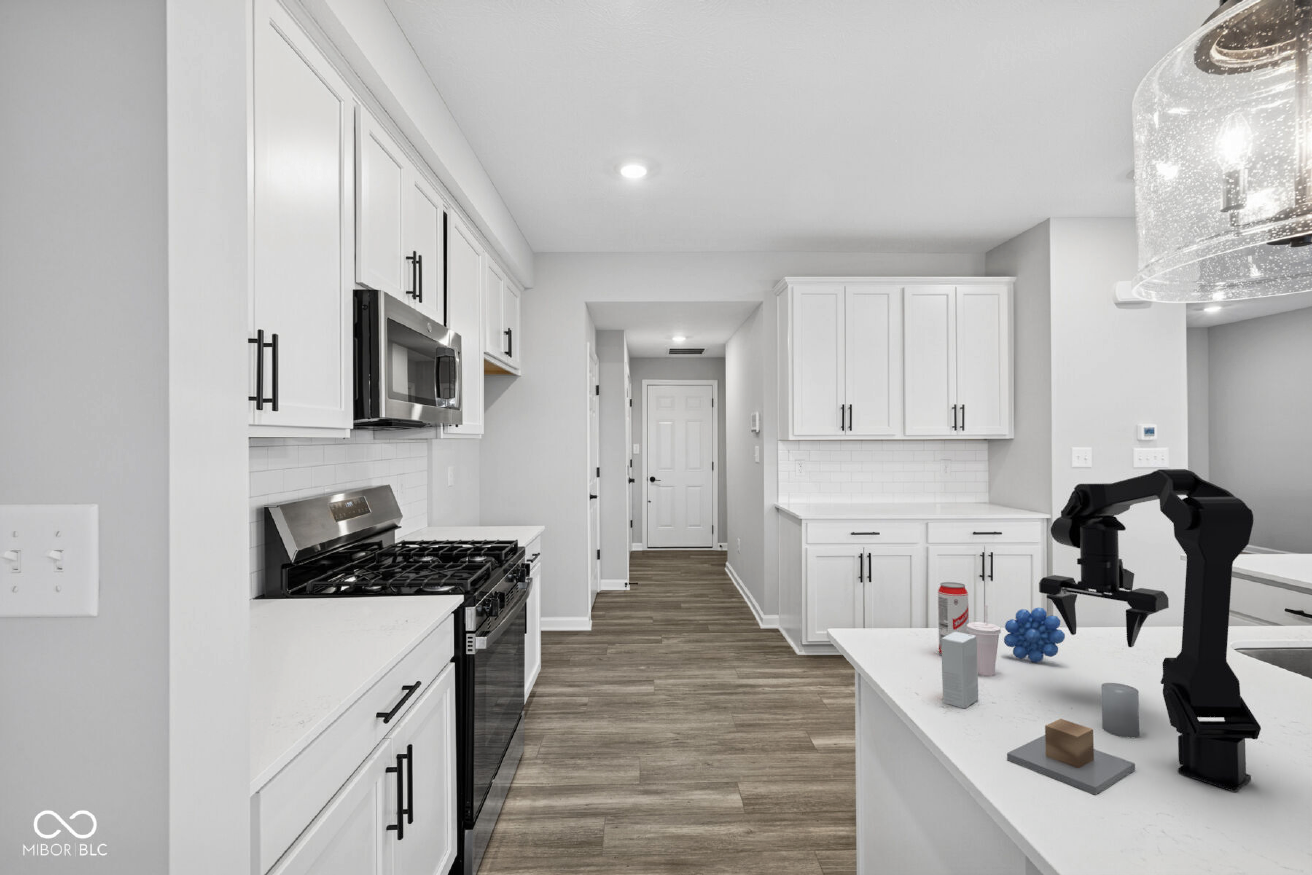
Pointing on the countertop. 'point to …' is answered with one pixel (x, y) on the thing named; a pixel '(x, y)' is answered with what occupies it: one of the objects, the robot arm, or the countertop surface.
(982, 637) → the smoothie
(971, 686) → the skincare box
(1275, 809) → the countertop surface
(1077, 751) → the walnut block
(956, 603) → the beer can
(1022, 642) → the grapes
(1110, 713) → the grey cylinder
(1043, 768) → the slate pad
